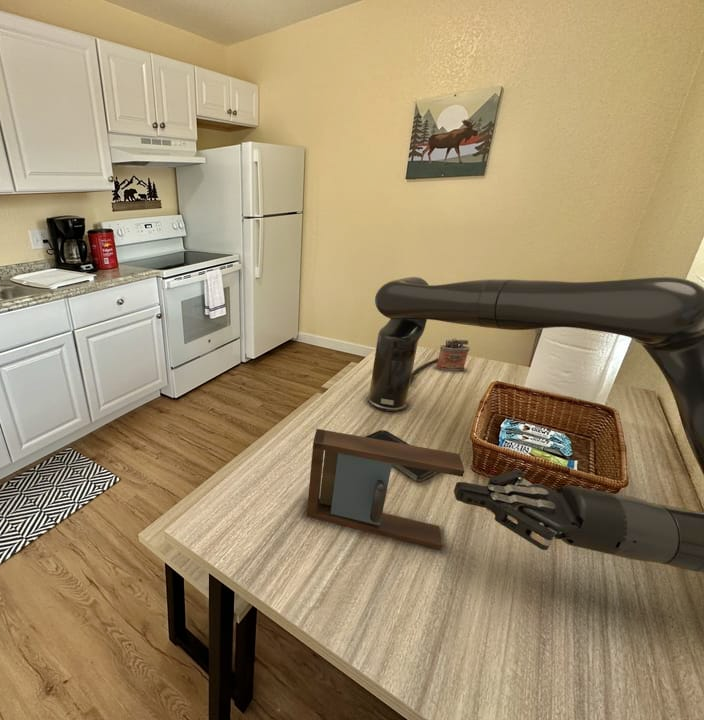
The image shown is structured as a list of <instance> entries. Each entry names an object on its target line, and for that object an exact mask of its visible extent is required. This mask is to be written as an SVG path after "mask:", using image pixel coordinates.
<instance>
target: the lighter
mask: <svg viewBox="0 0 704 720" xmlns="http://www.w3.org/2000/svg"><path fill="white" fill-rule="evenodd" d="M469 343H470V341H469V340H468V339H458V338H452V339H446V340H445V344H440V346H439V349H440V350H439V355H438V357H437V358H438V362H436V364H435V369H436V370H438V371H443V372H452V373H453V372H457V373H458V372H464V371H465V366H466V361H467V358H468V353H469V352H470V347H469V346H468V345H469Z"/></svg>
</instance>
